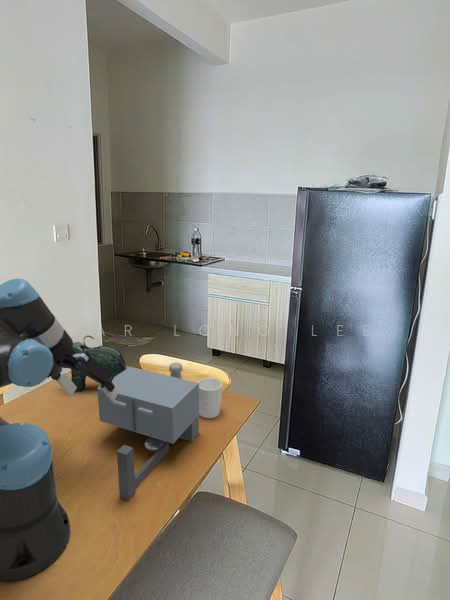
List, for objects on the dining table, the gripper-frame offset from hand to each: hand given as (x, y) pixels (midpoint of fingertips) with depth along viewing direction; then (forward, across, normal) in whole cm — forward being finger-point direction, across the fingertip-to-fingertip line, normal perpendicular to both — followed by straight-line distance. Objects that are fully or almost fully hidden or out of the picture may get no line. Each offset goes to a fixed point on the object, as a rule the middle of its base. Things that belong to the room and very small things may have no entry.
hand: (93, 394), depth 98 cm
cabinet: (+19, -9, 0) cm, 21 cm away
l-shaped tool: (+14, -16, +11) cm, 24 cm away
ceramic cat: (+23, +22, -16) cm, 35 cm away
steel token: (+18, -12, +2) cm, 22 cm away
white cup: (+28, -19, -15) cm, 37 cm away
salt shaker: (+28, -6, -18) cm, 34 cm away
